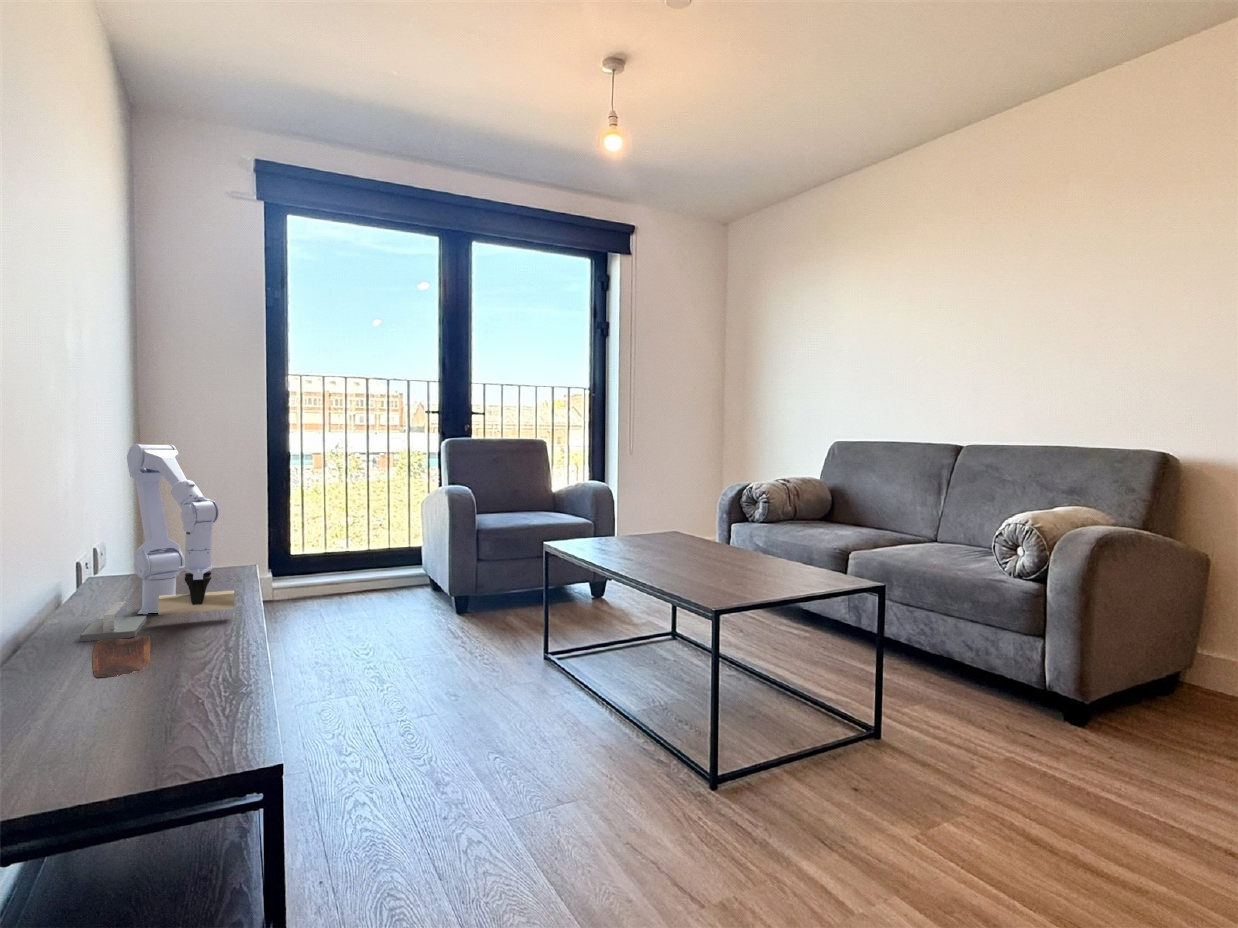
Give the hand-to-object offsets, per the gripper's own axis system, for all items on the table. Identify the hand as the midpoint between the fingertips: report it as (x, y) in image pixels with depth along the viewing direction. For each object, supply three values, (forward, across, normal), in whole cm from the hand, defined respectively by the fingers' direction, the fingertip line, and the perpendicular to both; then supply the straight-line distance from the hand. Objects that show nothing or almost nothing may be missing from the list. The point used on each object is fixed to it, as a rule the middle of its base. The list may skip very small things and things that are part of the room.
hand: (197, 602), depth 167 cm
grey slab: (+5, +2, -16) cm, 17 cm away
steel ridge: (+3, +2, -16) cm, 17 cm away
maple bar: (+2, 0, 0) cm, 2 cm away
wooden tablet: (+6, +24, -13) cm, 28 cm away
